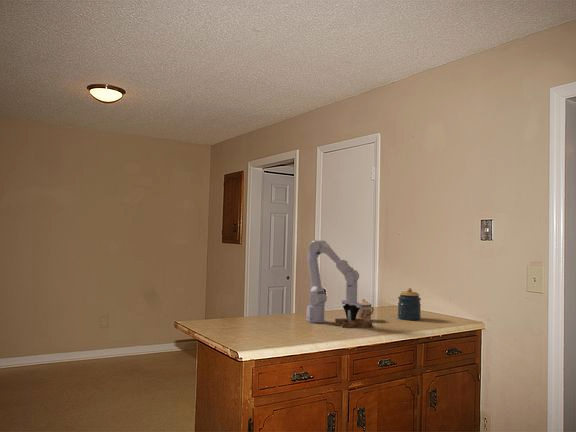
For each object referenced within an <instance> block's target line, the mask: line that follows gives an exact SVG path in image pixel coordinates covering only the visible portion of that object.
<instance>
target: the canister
mask: <svg viewBox="0 0 576 432" xmlns="http://www.w3.org/2000/svg"><path fill="white" fill-rule="evenodd" d="M397 299H398V303H397V318H398V319H399V320H405V321H419V320H421V316H422V315H421V307H422V304H421V300H422V298H421V297H420V294H419V293H418V292H417V291H413V289H412V288H411V287H408V288H407V291H405V290H404V291H401V292H400V293H399V296H398V297H397Z"/></svg>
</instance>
